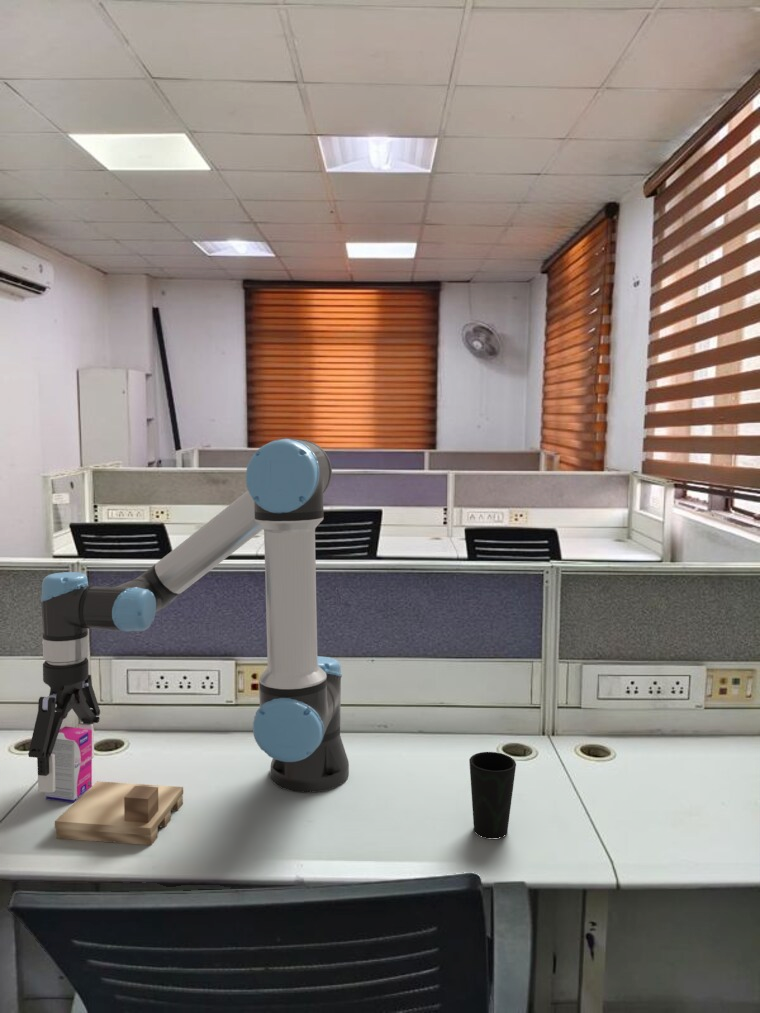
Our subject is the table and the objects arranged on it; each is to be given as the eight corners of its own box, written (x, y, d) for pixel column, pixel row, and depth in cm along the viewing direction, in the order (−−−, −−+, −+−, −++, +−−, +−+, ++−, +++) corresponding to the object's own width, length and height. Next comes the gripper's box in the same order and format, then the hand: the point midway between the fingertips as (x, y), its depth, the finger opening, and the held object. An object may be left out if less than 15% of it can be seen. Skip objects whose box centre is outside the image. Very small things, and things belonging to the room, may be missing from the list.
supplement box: (74, 803, 130) (73, 740, 129) (45, 799, 131) (43, 737, 130) (93, 788, 135) (92, 728, 134) (65, 784, 136) (63, 725, 135)
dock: (183, 803, 130) (183, 787, 130) (150, 846, 116) (150, 828, 116) (97, 797, 132) (97, 781, 132) (55, 839, 118) (54, 821, 118)
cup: (502, 847, 117) (505, 775, 116) (459, 833, 121) (461, 764, 120) (520, 827, 124) (522, 758, 123) (479, 814, 128) (481, 747, 127)
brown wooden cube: (158, 810, 122) (158, 787, 121) (148, 822, 118) (148, 798, 117) (135, 808, 122) (135, 785, 122) (124, 821, 118) (124, 797, 118)
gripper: (81, 639, 144) (82, 743, 146) (3, 680, 119) (6, 805, 121) (117, 641, 143) (118, 746, 145) (46, 683, 119) (49, 808, 120)
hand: (67, 773), depth 133 cm, fingers open, 13 cm apart
